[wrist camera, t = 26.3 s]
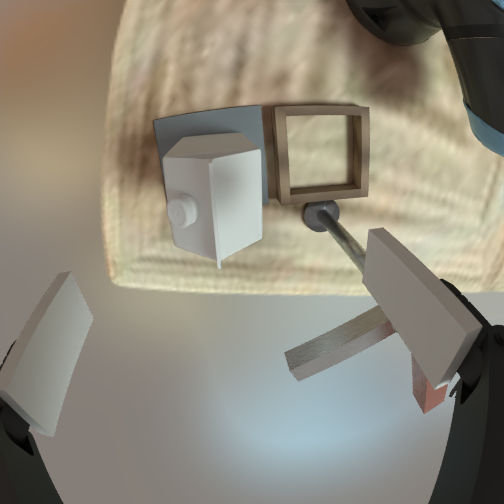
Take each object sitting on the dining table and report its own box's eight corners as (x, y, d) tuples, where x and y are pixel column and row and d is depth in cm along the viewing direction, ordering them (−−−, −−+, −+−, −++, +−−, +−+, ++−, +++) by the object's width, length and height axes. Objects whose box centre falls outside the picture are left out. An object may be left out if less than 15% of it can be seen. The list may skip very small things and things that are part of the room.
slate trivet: (154, 120, 31) (153, 120, 30) (260, 105, 32) (260, 105, 31) (171, 216, 37) (171, 217, 37) (267, 202, 38) (268, 203, 37)
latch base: (303, 197, 38) (304, 199, 38) (337, 194, 39) (340, 196, 38) (303, 231, 41) (305, 234, 40) (336, 227, 41) (338, 229, 41)
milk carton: (241, 132, 32) (272, 158, 16) (243, 187, 36) (272, 264, 19) (182, 136, 32) (149, 169, 15) (187, 191, 35) (167, 273, 19)
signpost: (284, 297, 45) (339, 455, 22) (251, 241, 39) (303, 424, 16) (351, 262, 44) (446, 399, 20) (328, 200, 38) (460, 338, 15)
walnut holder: (270, 106, 32) (274, 106, 30) (360, 106, 33) (369, 107, 31) (277, 199, 38) (281, 205, 36) (359, 191, 39) (367, 196, 37)
